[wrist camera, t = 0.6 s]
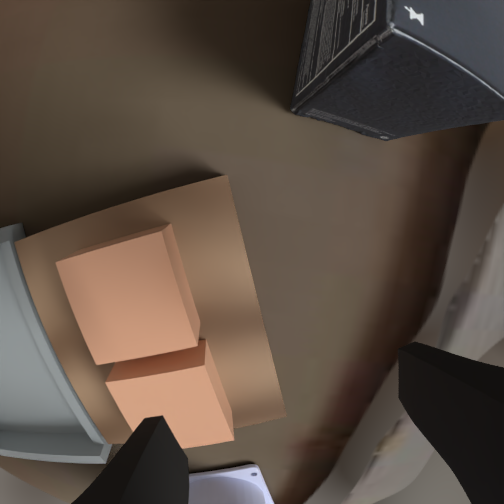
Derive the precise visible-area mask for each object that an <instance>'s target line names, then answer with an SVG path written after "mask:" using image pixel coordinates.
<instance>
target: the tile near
mask: <svg viewBox="0 0 504 504" xmlns="http://www.w3.org/2000/svg"><path fill="white" fill-rule="evenodd" d="M56 266H57V269H58V272H59V275H60V278H61V281H62V283H63V286H64V289H65V292H66V295H67V297H68V300H69V303H70V305H71V308H72V310H73V313H74V315H75V318H76V320H77V323H78V325H79V328H80V330H81V332H82V335H83V337H84V339H85V342H86V344H87V346H88V348H89V350H90V353H91V355H92V357H93V359H94V361H95V363H96V365H100V364H106V363H112V362H118V361H124V360H130V359H136V358H141V357H147V356H152V355H157V354H162V353H167V352H172V351H177V350H182V349H187V348H191V347H196V346H198V339H199V330H200V319H199V316H198V313H197V310H196V307H195V303H194V300H193V297H192V294H191V291H190V287H189V284H188V281H187V277H186V274H185V271H184V267H183V264H182V260H181V257H180V253H179V250H178V246H177V243H176V239H175V236H174V232H173V228H172V225H171V223H170V224H167V225H163V226H159V227H156V228H152V229H149V230H145V231H142V232H138V233H135V234H131V235H128V236H124V237H121V238H117V239H114V240H111V241H107V242H104V243H101V244H97V245H94V246H91V247H88V248H84V249H81V250H78V251H76V252H74V253H72V254H70V255H68V256H67V257H65V258H63V259H61V260H59V261H57V262H56Z"/></svg>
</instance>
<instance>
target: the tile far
mask: <svg viewBox="0 0 504 504" xmlns="http://www.w3.org/2000/svg"><path fill="white" fill-rule="evenodd" d="M105 383H106V385H107V387H108V389H109V391H110V393H111V395H112V396H113V398H114V400H115V402H116V404H117V405H118V407H119V409H120V411H121V413H122V414H123V416H124V418H125V419H126V421H127V423H128V424H129V426H130V428H131V429H132V431H133V432H134V431H135V429H136V428H137V427H138V425H139V424H140V423H141V422H142V420H143V419H144V418H147V417H155V416H161V415H163V416H164V418H165V420H166V422H167V424H168V426H169V427H170V429H171V431H172V433H173V434H174V436H175V438H176V440H177V441H178V443H179V445H180V446H181V448H190V447H197V446H204V445H210V444H216V443H222V442H227V441H232V440H234V431H233V419H232V410H231V407H230V405H229V402H228V400H227V397H226V394H225V391H224V389H223V386H222V383H221V381H220V378H219V375H218V372H217V369H216V367H215V364H214V361H213V358H212V355H211V352H210V349H209V346H208V343H207V340H206V339H205V340H201V341H198V346H196V347H191V348H187V349H182V350H177V351H172V352H167V353H162V354H157V355H152V356H147V357H141V358H136V359H130V360H124V361H118V362H115V364H114V366H113V368H112V370H111V372H110V374H109V376H108V378H107V380H106V382H105Z"/></svg>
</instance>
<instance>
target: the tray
mask: <svg viewBox="0 0 504 504" xmlns="http://www.w3.org/2000/svg"><path fill="white" fill-rule="evenodd" d="M24 238H26V235H25V232H24V228H23V224H22V223H18V224H14V225H10V226H6V227H2V228H0V455H3V456H9V457H15V458H23V459H31V460H40V461H51V462H65V463H92V464H106V462H107V459H108V455H109V452H110V449H111V446H112V444H108V443H107V442H106V440H105V439H104V437H103V436H102V434H101V433H100V431H99V430H98V428H97V426H96V425H95V423H94V422H93V420H92V419H91V417H90V415H89V414H88V412H87V410H86V409H85V407H84V405H83V404H82V402H81V400H80V399H79V397H78V395H77V393H76V391H75V390H74V388H73V386H72V384H71V382H70V381H69V379H68V377H67V375H66V373H65V371H64V369H63V367H62V365H61V363H60V361H59V359H58V357H57V355H56V353H55V351H54V349H53V347H52V344H51V342H50V340H49V338H48V336H47V333H46V331H45V329H44V326H43V324H42V322H41V319H40V317H39V314H38V312H37V309H36V307H35V304H34V302H33V299H32V296H31V293H30V291H29V288H28V285H27V282H26V279H25V276H24V273H23V270H22V267H21V264H20V261H19V257H18V254H17V251H16V247H15V244H14V242H16V241H19V240H21V239H24Z"/></svg>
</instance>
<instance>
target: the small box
mask: <svg viewBox="0 0 504 504" xmlns="http://www.w3.org/2000/svg"><path fill="white" fill-rule="evenodd" d="M290 110H291V111H292V112H293V113H294V114H295V115H300V116H303V117H312V118H315V119H317V120H322V121H325V122H329V123H333V124H334V125H339V126H342V127H345V128H347V129H351V130H355V131H358V132H360V133H361V134H362V135H366V136H370V137H374V138H379V139H382V140H384V141H388V140H392V139H397V138H401V137H406V136H411V135H416V134H422V133H427V132H431V131H436V130H442V129H448V128H455V127H460V126H467V125H473V124H481V123H487V122H493V121H500V120H504V0H311V2H310V7H309V10H308V17H307V22H306V28H305V34H304V39H303V43H302V46H301V53H300V59H299V64H298V67H297V74H296V81H295V86H294V92H293V97H292V103H291V106H290Z"/></svg>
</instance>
